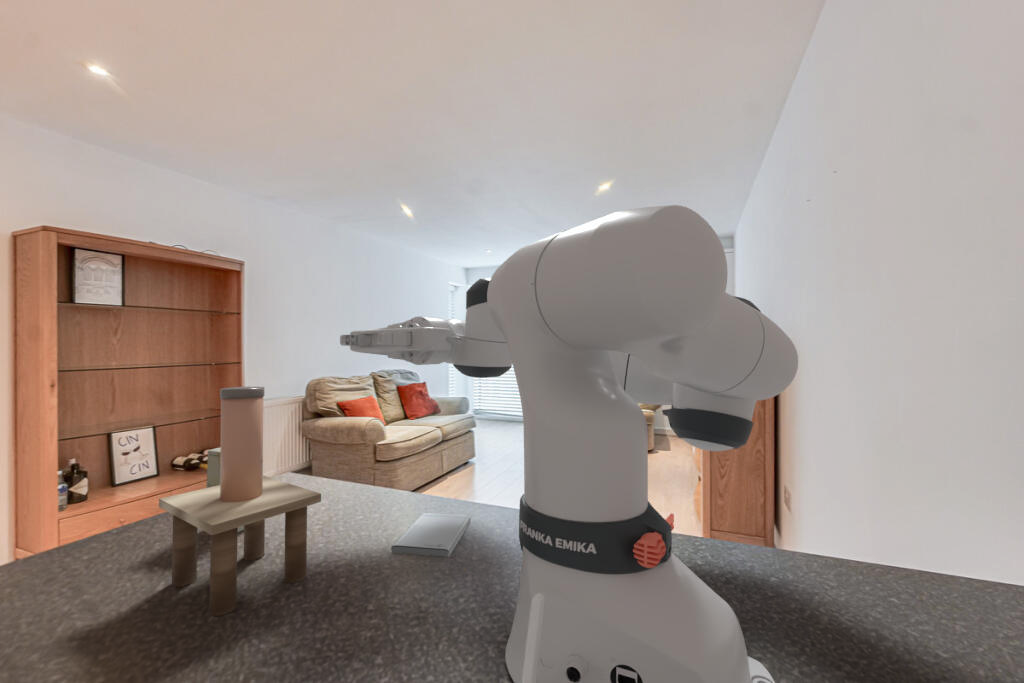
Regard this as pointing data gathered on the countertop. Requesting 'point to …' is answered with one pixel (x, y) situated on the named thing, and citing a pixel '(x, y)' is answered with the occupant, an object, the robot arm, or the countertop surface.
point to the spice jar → (241, 443)
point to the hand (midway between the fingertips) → (360, 339)
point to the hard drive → (432, 535)
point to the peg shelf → (223, 526)
